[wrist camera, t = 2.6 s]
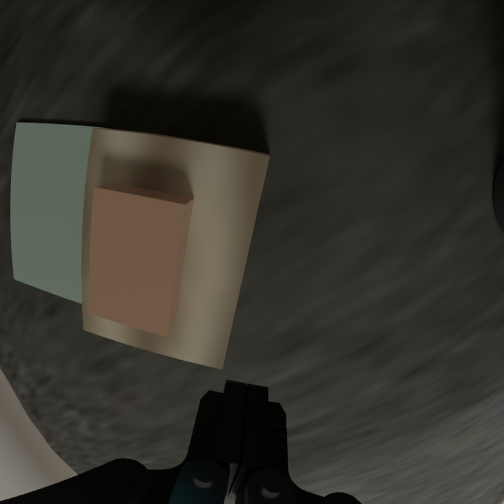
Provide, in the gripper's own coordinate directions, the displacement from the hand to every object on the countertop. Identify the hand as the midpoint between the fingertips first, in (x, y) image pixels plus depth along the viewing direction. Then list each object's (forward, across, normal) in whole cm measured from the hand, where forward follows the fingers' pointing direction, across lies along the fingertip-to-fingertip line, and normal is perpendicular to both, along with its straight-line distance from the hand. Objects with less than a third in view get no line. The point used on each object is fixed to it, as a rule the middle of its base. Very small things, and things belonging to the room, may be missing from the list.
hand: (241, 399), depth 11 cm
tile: (+11, +8, 0) cm, 14 cm away
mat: (+15, +19, 0) cm, 24 cm away
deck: (+15, +7, 0) cm, 17 cm away
